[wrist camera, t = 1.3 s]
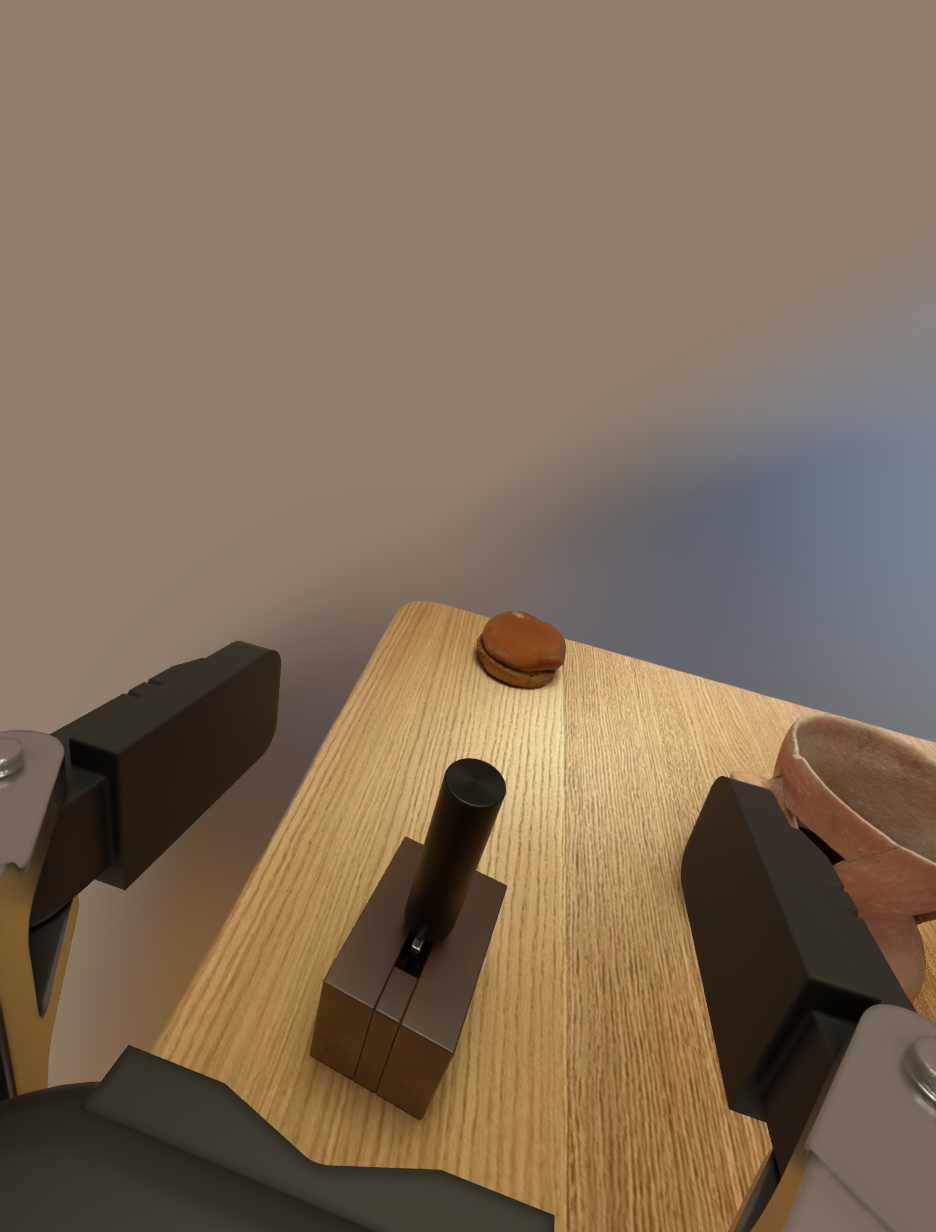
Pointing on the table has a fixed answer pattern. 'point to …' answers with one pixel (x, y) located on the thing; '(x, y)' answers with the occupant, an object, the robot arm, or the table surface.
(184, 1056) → the table surface
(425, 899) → the black tall cylinder
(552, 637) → the burger
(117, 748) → the robot arm
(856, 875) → the ceramic jug
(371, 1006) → the knife block
